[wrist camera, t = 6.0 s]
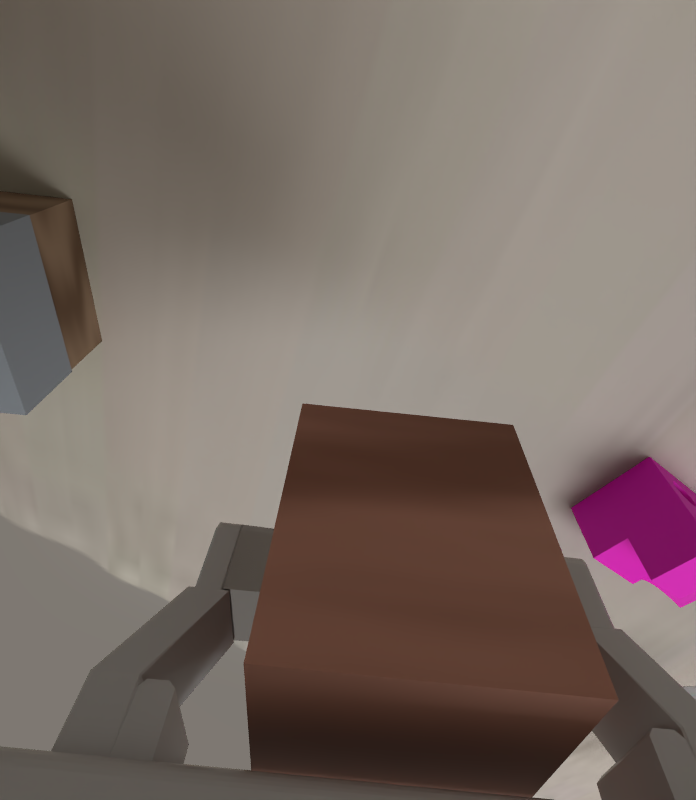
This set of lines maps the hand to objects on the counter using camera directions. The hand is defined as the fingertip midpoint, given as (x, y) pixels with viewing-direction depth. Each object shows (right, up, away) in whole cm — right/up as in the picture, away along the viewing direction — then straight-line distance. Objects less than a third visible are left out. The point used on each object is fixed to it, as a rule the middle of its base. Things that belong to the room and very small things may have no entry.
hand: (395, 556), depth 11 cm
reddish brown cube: (0, +1, +2) cm, 2 cm away
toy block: (+23, -6, +24) cm, 34 cm away
